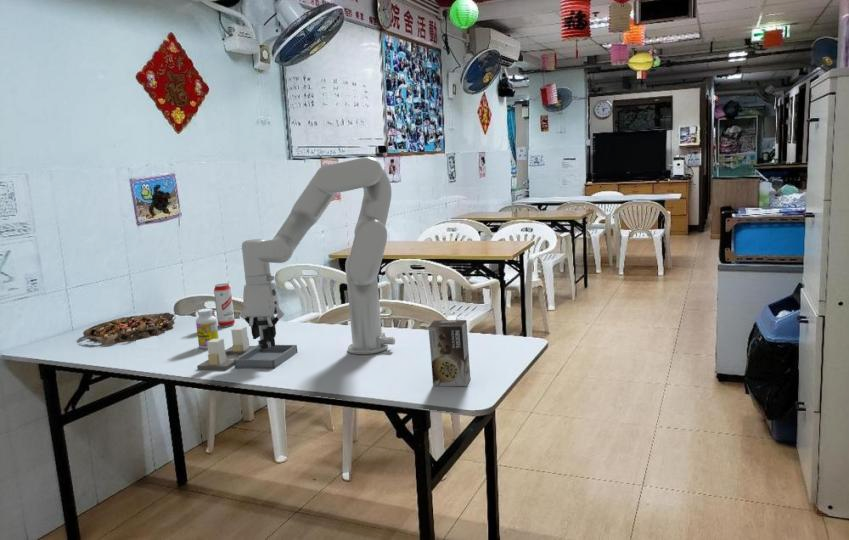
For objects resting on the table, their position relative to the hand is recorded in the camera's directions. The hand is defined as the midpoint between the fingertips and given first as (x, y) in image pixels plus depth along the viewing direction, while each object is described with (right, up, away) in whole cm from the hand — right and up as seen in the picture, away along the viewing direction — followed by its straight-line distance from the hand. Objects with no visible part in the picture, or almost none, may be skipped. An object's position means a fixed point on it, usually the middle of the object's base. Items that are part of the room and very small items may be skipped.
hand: (264, 337), depth 201 cm
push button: (0, -3, +1) cm, 3 cm away
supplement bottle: (-24, -6, +22) cm, 33 cm away
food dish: (-63, -4, +51) cm, 81 cm away
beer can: (-27, -1, +51) cm, 58 cm away
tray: (+1, -7, +1) cm, 7 cm away
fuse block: (-12, -7, +5) cm, 15 cm away
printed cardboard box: (+57, -9, -30) cm, 65 cm away
